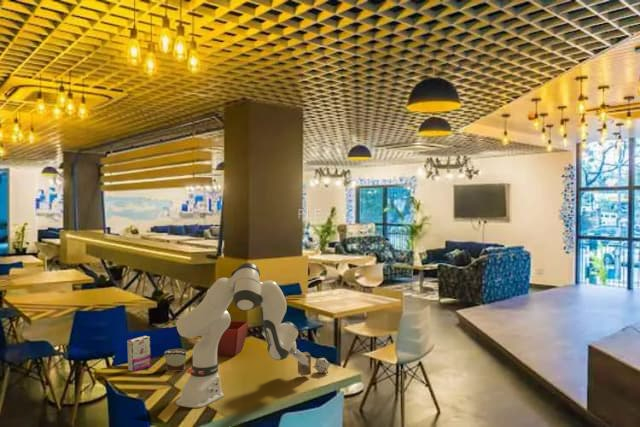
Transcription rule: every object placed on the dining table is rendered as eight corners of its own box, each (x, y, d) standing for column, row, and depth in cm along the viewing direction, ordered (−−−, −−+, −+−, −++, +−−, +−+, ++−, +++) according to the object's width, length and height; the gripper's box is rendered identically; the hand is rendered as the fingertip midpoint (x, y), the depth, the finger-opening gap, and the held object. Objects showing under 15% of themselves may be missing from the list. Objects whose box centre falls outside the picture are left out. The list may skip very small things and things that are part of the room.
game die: (325, 380, 261) (330, 368, 255) (309, 375, 261) (315, 363, 255) (328, 367, 268) (334, 355, 263) (313, 361, 268) (318, 349, 263)
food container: (190, 367, 274) (190, 348, 273) (186, 370, 267) (186, 352, 267) (168, 366, 275) (168, 348, 274) (164, 370, 269) (164, 351, 268)
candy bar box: (145, 364, 278) (145, 335, 278) (151, 366, 275) (150, 336, 275) (127, 370, 269) (126, 339, 269) (132, 372, 266) (132, 341, 266)
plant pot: (237, 358, 287) (237, 329, 287) (206, 357, 291) (205, 328, 290) (249, 349, 306) (248, 321, 305) (219, 347, 310) (219, 320, 309)
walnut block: (301, 375, 253) (301, 355, 252) (297, 372, 257) (297, 353, 257) (310, 374, 255) (310, 354, 254) (306, 371, 259) (306, 351, 259)
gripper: (299, 346, 243) (317, 363, 247) (284, 335, 262) (301, 352, 266) (290, 356, 241) (309, 374, 246) (276, 345, 260) (293, 361, 264)
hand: (305, 362), depth 256 cm, fingers closed on walnut block, 5 cm apart
